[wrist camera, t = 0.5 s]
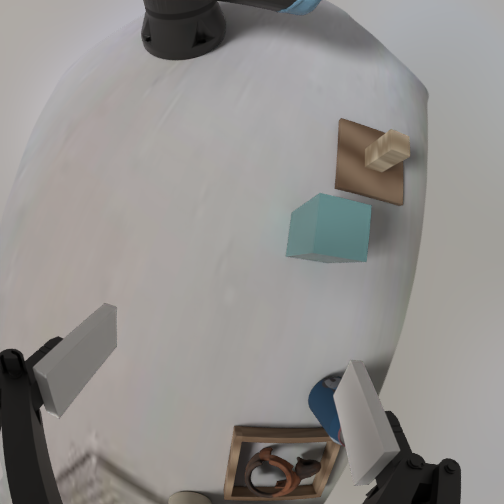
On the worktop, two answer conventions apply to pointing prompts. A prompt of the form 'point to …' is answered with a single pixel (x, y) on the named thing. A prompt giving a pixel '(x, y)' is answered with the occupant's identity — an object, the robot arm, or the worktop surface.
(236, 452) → the mug frame
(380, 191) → the brown square base plate
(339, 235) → the tall teal pillar
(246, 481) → the pottery mug
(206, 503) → the travel mug
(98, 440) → the worktop surface
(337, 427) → the soda can
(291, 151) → the worktop surface
